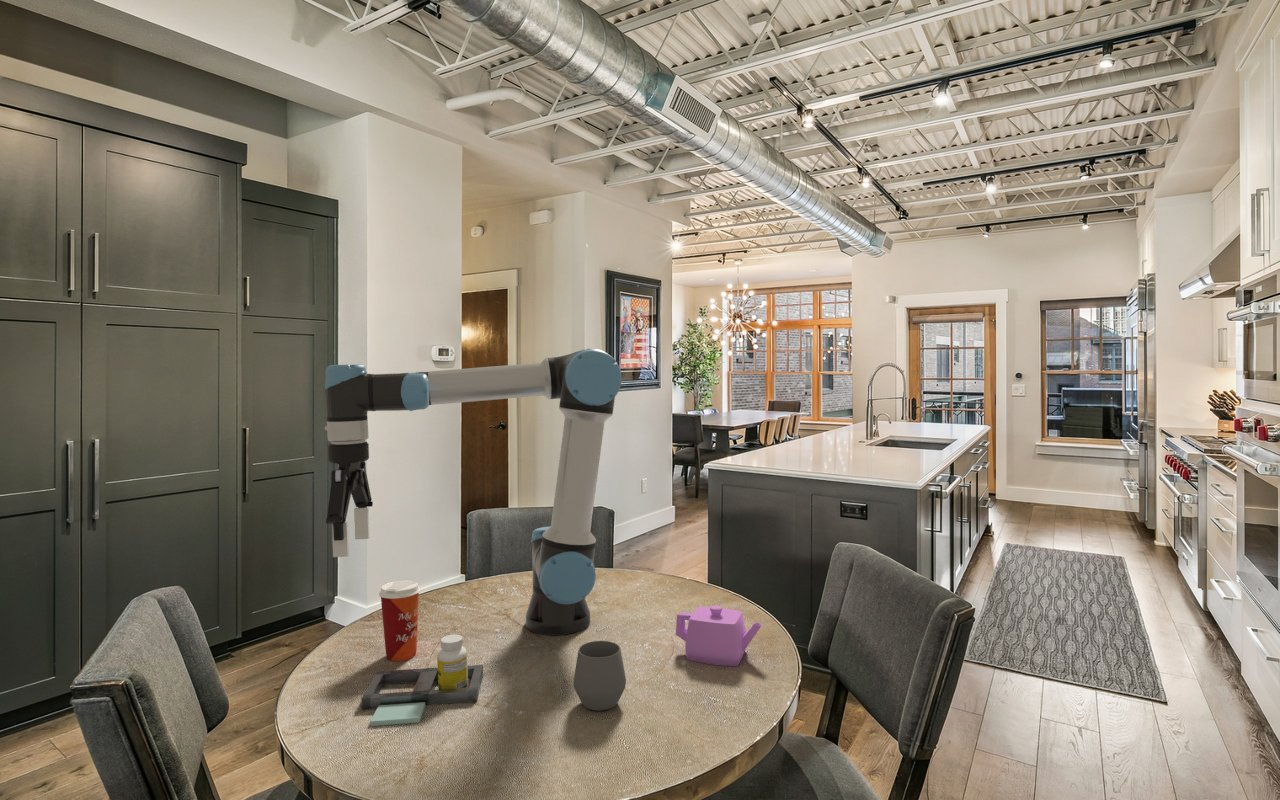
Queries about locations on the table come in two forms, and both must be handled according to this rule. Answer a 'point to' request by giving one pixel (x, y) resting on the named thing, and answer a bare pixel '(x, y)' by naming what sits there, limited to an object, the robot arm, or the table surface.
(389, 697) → the grey rectangular frame
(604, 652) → the cup
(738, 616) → the teapot
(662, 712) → the table surface
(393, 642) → the coffee cup
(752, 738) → the table surface
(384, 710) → the mat
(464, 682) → the supplement bottle
